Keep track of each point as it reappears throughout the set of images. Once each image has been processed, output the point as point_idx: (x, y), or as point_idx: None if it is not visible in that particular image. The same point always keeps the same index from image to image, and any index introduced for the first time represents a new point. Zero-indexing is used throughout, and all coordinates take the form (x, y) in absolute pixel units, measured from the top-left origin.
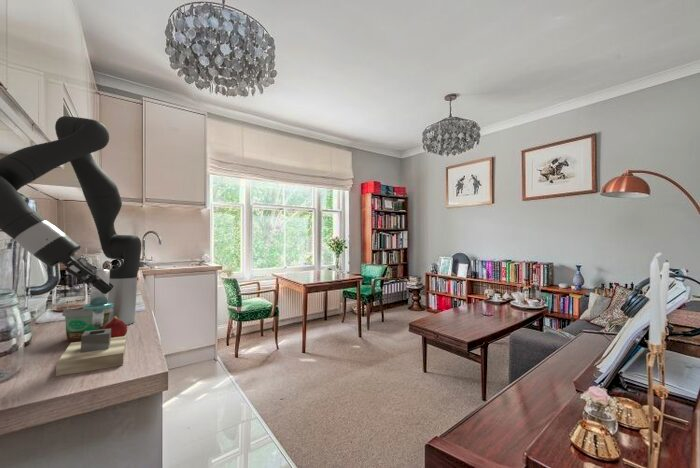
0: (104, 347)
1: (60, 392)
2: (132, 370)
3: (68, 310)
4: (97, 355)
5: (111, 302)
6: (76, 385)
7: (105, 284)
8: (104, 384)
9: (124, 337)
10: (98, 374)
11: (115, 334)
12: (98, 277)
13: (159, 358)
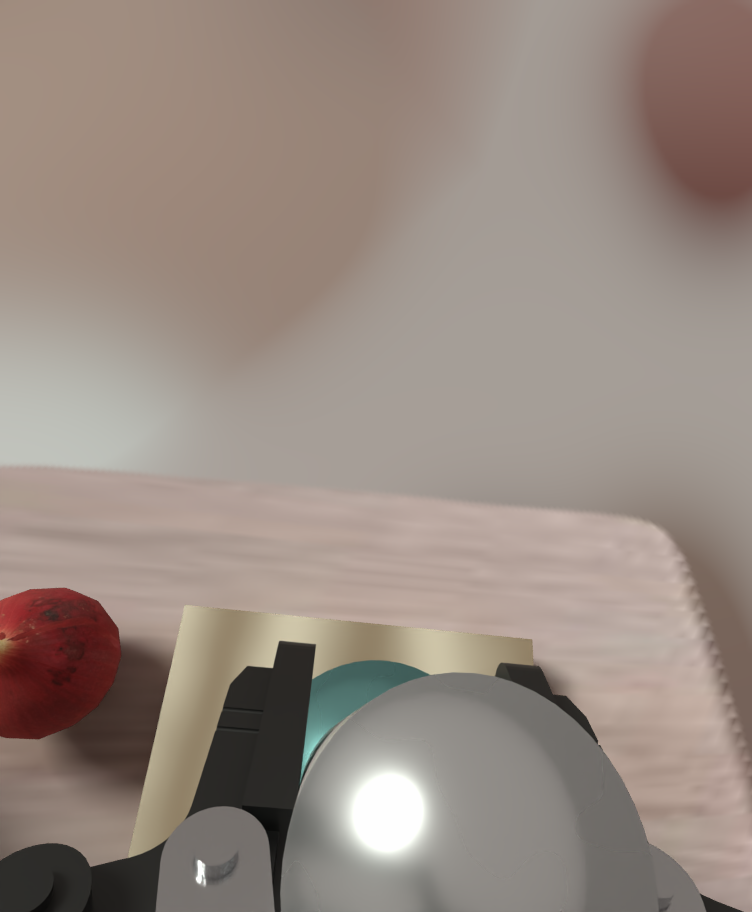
0: None
1: (739, 893)
2: (599, 617)
3: None
4: None
5: (335, 677)
6: (683, 833)
7: None
8: (715, 724)
9: (213, 616)
10: None
11: (116, 661)
12: (691, 881)
13: (498, 507)
